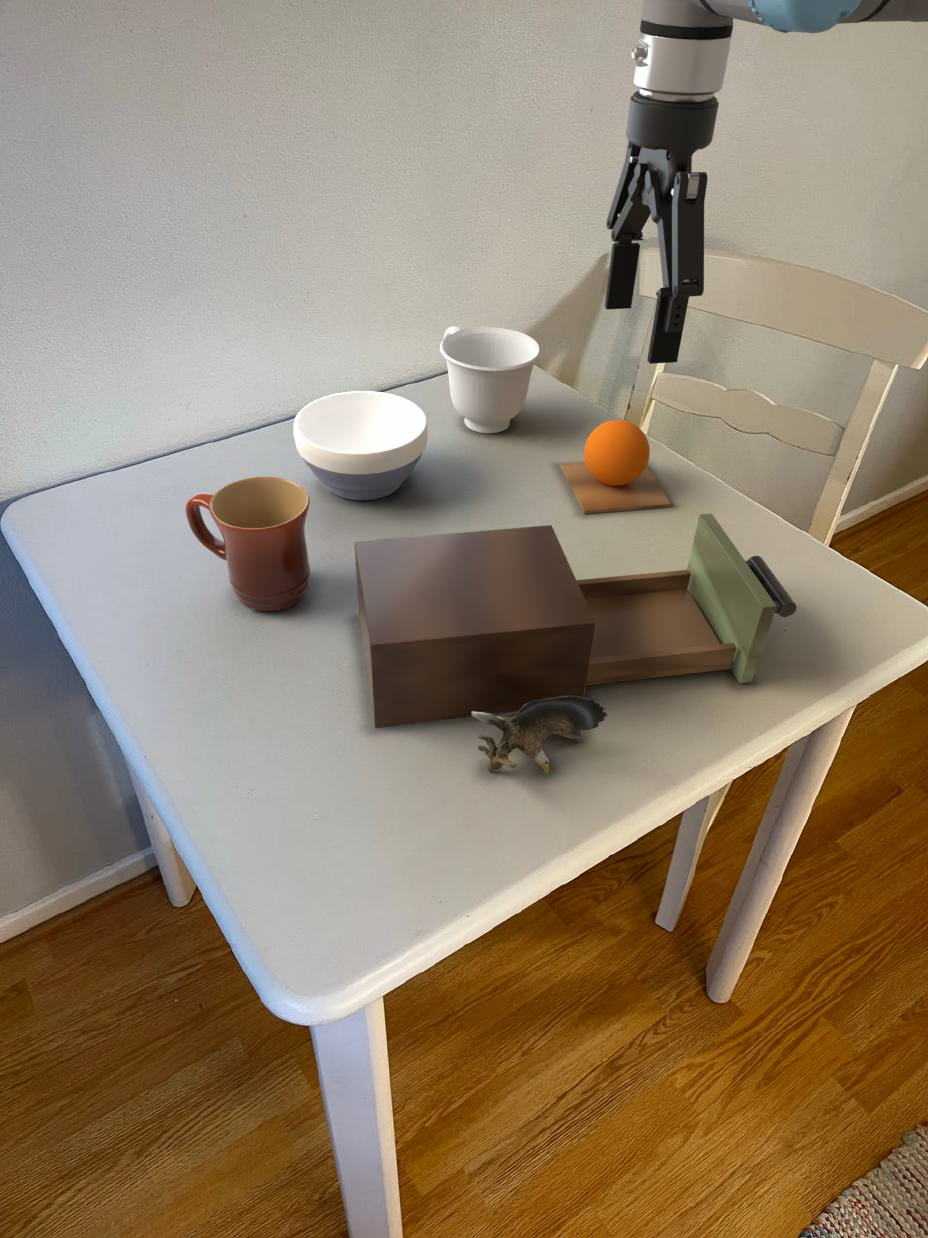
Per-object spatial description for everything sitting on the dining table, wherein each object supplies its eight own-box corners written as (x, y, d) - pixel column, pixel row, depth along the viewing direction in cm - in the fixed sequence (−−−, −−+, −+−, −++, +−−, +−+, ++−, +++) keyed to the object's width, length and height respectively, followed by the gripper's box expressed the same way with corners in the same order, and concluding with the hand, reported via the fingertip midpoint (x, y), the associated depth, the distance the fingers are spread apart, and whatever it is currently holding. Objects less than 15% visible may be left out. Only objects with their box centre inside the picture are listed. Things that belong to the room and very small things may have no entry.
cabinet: (543, 602, 86) (551, 524, 80) (583, 703, 76) (595, 622, 70) (359, 620, 83) (354, 541, 77) (374, 727, 73) (370, 645, 67)
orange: (655, 492, 100) (662, 430, 96) (593, 498, 98) (597, 435, 95) (633, 468, 106) (639, 408, 102) (574, 473, 104) (578, 413, 101)
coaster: (671, 506, 99) (671, 503, 99) (584, 513, 98) (584, 510, 97) (641, 460, 107) (641, 457, 106) (560, 466, 105) (560, 463, 105)
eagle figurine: (537, 811, 66) (623, 740, 69) (494, 731, 63) (586, 662, 67) (486, 787, 72) (567, 723, 76) (447, 714, 70) (532, 652, 74)
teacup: (482, 384, 121) (485, 311, 115) (554, 429, 112) (562, 352, 106) (408, 407, 116) (406, 332, 109) (477, 456, 107) (480, 377, 100)
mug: (333, 575, 88) (325, 486, 82) (293, 630, 82) (281, 538, 75) (225, 550, 91) (209, 462, 84) (178, 602, 85) (156, 510, 78)
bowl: (279, 505, 97) (270, 443, 93) (325, 441, 108) (321, 382, 103) (407, 526, 95) (406, 463, 90) (442, 458, 106) (442, 399, 101)
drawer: (735, 582, 89) (755, 509, 83) (798, 677, 79) (826, 600, 73) (523, 603, 85) (529, 528, 80) (560, 704, 75) (570, 627, 70)
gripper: (591, 66, 86) (569, 289, 99) (687, 125, 67) (644, 390, 81) (666, 66, 87) (634, 286, 100) (781, 124, 68) (722, 385, 82)
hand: (638, 333), depth 90 cm, fingers open, 13 cm apart
